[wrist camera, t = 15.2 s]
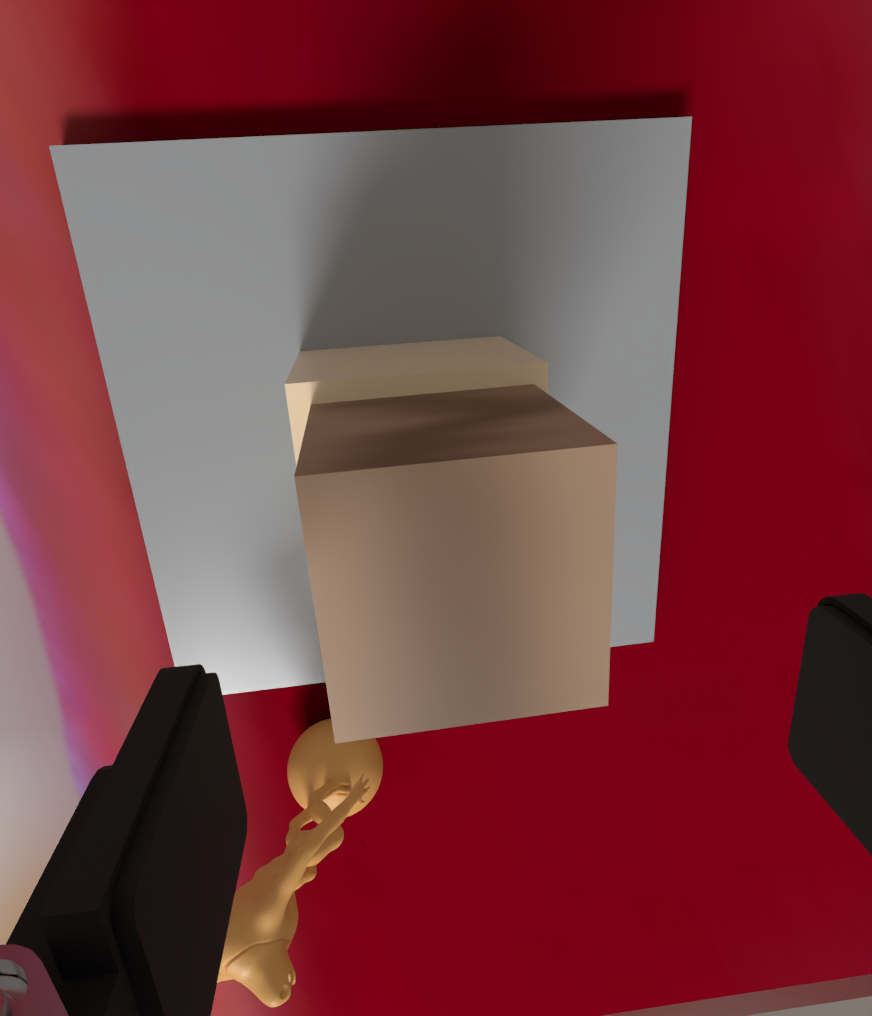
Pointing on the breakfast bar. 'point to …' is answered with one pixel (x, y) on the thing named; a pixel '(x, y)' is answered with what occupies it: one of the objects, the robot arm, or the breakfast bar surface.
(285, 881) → the figurine
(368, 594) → the walnut cube
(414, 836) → the breakfast bar surface
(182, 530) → the base plate
